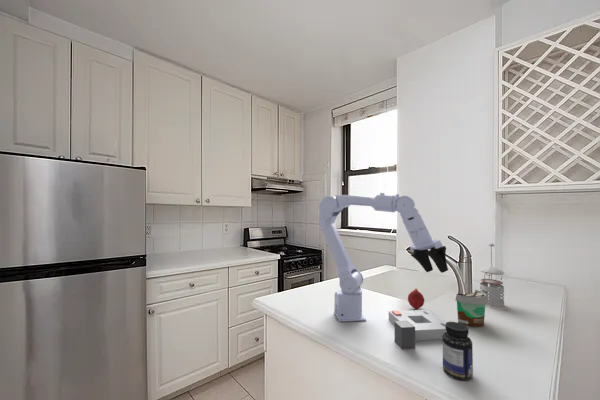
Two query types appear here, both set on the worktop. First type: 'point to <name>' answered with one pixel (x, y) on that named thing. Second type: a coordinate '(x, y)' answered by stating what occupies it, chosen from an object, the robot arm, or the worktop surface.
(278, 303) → the worktop surface
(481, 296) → the food container
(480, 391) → the worktop surface
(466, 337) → the pill bottle
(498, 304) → the french press
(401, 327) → the plug
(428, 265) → the robot arm
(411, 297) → the onion
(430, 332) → the socket plate
